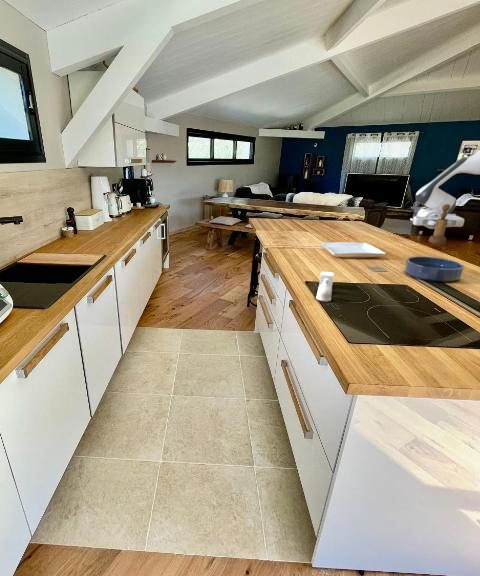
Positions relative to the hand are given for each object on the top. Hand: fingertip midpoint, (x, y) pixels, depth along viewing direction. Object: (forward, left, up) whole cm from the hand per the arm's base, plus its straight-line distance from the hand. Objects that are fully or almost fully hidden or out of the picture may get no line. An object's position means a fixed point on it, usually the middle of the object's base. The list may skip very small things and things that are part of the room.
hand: (442, 223), depth 148 cm
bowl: (+5, +18, -21) cm, 28 cm away
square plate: (+36, -14, -21) cm, 44 cm away
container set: (+50, +55, -21) cm, 77 cm away
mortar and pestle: (0, -1, -9) cm, 9 cm away
